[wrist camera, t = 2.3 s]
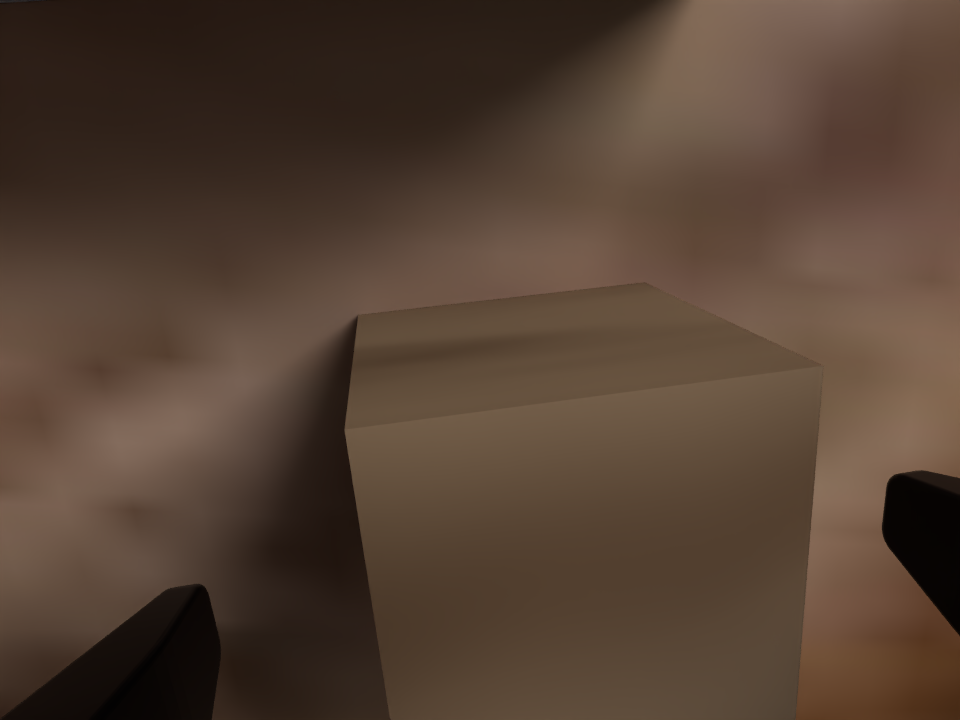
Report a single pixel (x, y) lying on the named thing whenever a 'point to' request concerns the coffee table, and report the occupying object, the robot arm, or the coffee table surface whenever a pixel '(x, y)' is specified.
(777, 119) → the coffee table surface
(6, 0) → the box
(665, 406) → the walnut cube
